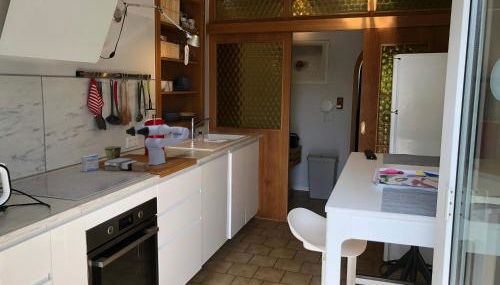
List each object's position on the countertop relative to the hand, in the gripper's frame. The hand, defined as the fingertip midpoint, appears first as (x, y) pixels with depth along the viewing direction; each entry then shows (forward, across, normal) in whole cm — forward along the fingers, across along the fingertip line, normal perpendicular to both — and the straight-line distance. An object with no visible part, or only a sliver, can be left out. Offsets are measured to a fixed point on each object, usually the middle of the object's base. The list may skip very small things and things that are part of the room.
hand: (131, 131), depth 237 cm
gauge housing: (-3, -12, +21) cm, 25 cm away
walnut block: (-3, +3, +22) cm, 22 cm away
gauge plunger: (-1, -6, +21) cm, 22 cm away
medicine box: (+7, -24, +22) cm, 34 cm away
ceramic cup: (-15, -27, +21) cm, 37 cm away
